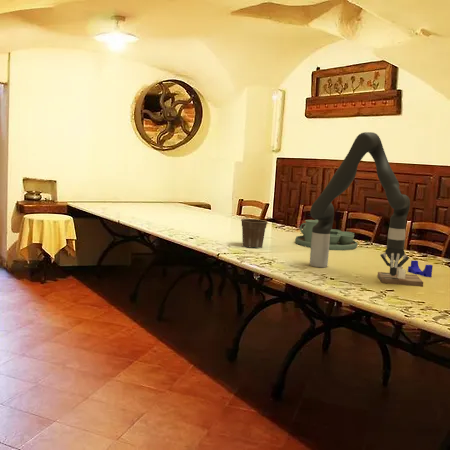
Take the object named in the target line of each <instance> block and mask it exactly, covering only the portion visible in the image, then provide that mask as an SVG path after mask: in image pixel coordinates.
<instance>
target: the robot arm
mask: <svg viewBox="0 0 450 450" xmlns="http://www.w3.org/2000/svg"><path fill="white" fill-rule="evenodd" d="M368 153H369V155H370V157H372V159H373V161H374V164H375V167H376V169H375V170H376V174H377V178H378V180H379V183H380V185H381V186H382V187H383V190H384V192H385V196H386V200H387V202H388V204H389V206H390V207H391V209H393V213H392V215H391V216H390V218H389V226H388V232H387V241H386V249H385V251H384V252H382V253H380V257H381V259H382V260H383V261H384V264H385V265H386V266H387V267H389V273H390V274H391V276H395V275H396V273H397V268H398V267H401V266H403V265H404V264H405V263H406V262H407V261H408V260H409V259H410V257H409V256H408V255H406V252H405V244H406V243H405V241H406V229H407V228H406V225H407V219H408V215H409V212H410V207H411V200H410V197H409V196H408V195H406V194H402V193H401V189H400V183H399V180H398V178H397V177H396V174H395V173H394V171H393V169H392V167H391V164H390V162H389V160H388V157H387V155H386V152H385V149H384V146H383V143H382V139H381V138H380V136H379V135H378V134H377V133H375V132H367V131H366V132H361V133H359V134H358V135H357V136H356V137H355V139H354V141H353V143H352V145H351V147H350V148H349V151H348V152H347V154H346V156H345V157H344V159H343V160H342V162H341V163H340V164H339V166H338V168H337V169H336V171H335V173H334V174H333V176H332V177H331V179H330V181H329V182H328V184H327V185H325V188H324V189H323V190H322V191H321V193H320V195H319V196H318V197H317V198H316V200H315V201H314V202H313V203H312V205H311V207H310V209H309V210H310V212H309V214H310V216H311V218H312V219H313V220H315V219H317V220H318V223H317V224H316V225H315V226H313V228H312V239H311V247H310V254H309V255H310V256H309V266H311V267H314V268H328V266H329V263H328V262H329V256H330V255H329V254H330V253H329V252H330V250H329V243H330V231H331V229H333V226H334V219H335V207H334V205H333V203H332V202H333V201H334V200H335V199H336V198H337V197H339V196H340V195H342V194H343V193H345V191H346V190H347V189H348V188H349V187H350V186H351V184H352V183H353V182H354V180H355V178H356V176H357V171H358V166H359V165H360V162H361V161H362V159H363V158H364V157H365V155H366V154H368ZM386 258H388V260H389V261H388V260H387V259H386ZM401 259H402V260H401ZM399 261H400V262H399Z"/></svg>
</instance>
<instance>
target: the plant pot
mask: <svg viewBox="0 0 450 450" xmlns="http://www.w3.org/2000/svg"><path fill="white" fill-rule="evenodd" d="M240 221H241V227H242V229H241V231H242V246H243V247H244V246H246V247H245V248H248V247H249V248H251V247H261V248H263V244H264V239H265V238H264V237H265V233H266V228H267V224H268V221H267V220H263V219H257V218H241V219H240Z"/></svg>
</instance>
